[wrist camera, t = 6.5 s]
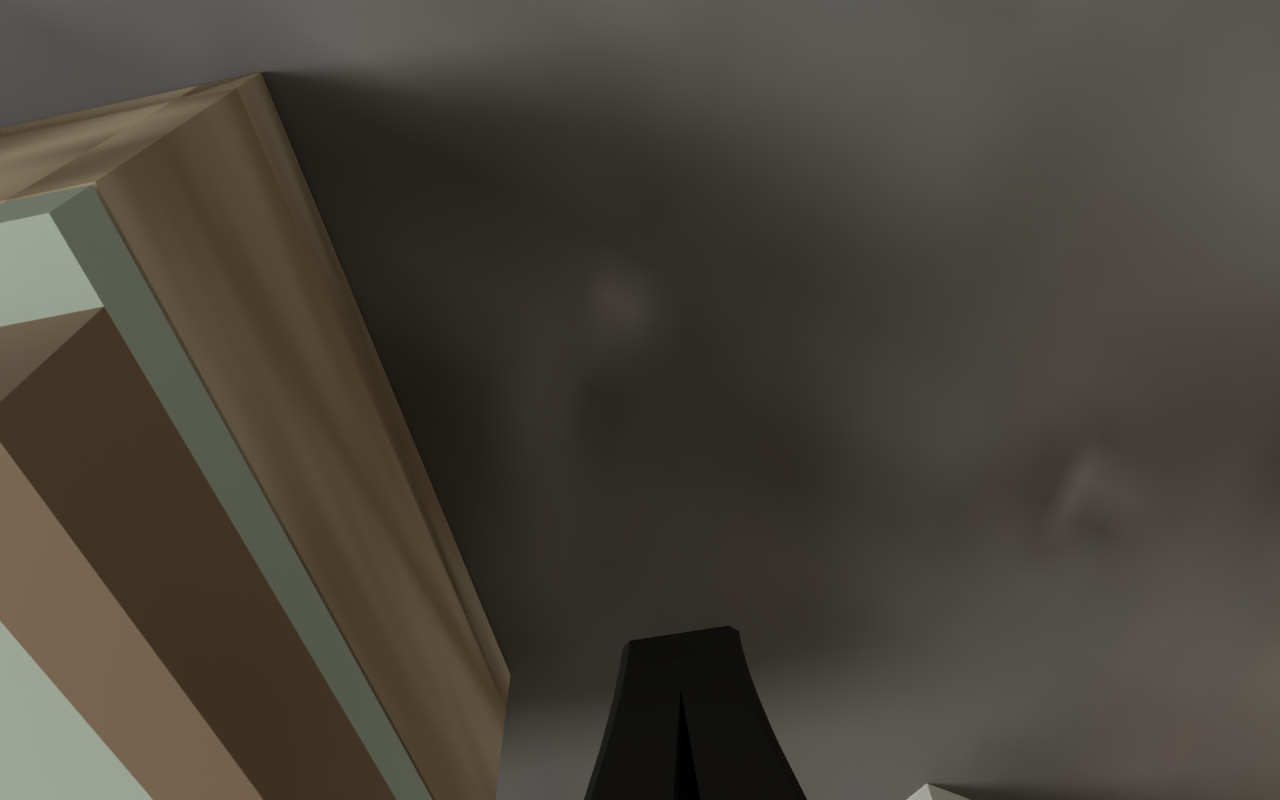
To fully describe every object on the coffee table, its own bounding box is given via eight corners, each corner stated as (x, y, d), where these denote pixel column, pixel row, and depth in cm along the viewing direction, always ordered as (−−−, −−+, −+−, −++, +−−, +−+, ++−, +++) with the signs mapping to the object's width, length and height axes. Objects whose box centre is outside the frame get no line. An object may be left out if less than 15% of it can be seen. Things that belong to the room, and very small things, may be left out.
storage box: (260, 72, 13) (96, 182, 9) (510, 675, 21) (484, 888, 16) (-438, 222, 14) (-883, 385, 10) (43, 745, 22) (-94, 964, 17)
